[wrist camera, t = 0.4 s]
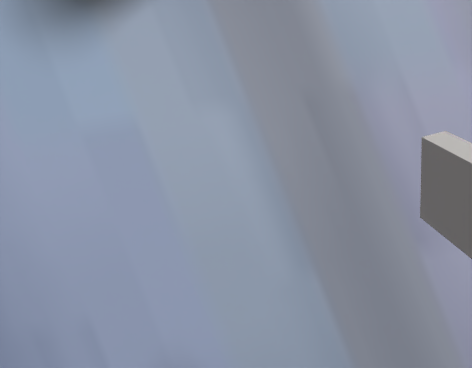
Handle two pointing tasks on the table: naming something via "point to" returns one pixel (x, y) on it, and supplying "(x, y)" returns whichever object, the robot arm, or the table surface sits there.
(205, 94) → the table surface
